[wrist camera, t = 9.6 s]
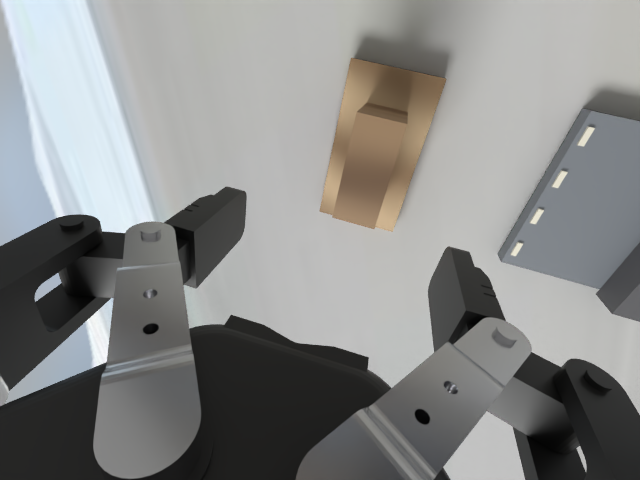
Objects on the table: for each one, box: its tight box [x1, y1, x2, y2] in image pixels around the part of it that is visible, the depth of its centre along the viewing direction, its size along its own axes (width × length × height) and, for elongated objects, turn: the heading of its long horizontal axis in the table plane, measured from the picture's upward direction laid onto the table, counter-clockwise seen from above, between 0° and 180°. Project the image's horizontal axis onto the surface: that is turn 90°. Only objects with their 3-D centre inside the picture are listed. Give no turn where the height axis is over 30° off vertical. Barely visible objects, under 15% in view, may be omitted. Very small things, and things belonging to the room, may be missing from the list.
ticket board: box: [498, 109, 640, 322], centre depth 22 cm, size 13×12×4 cm
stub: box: [320, 58, 446, 232], centre depth 23 cm, size 12×7×7 cm, turn 169°
